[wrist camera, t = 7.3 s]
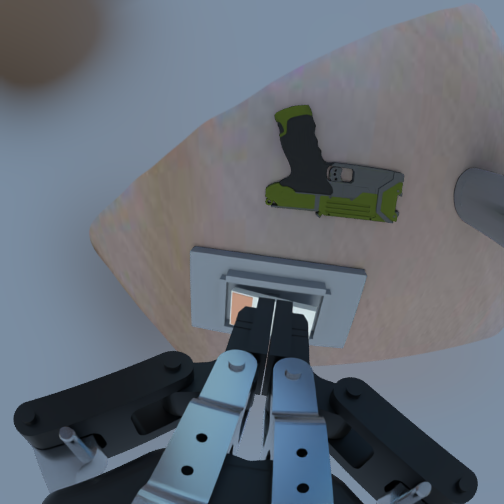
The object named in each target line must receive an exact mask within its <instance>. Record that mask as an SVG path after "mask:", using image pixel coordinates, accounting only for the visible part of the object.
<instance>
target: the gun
mask: <svg viewBox="0 0 504 504" xmlns="http://www.w3.org/2000/svg"><path fill="white" fill-rule="evenodd" d="M275 120H276V122H278V126H279V129H280V134H279V136H280V140H281V145H282V148H283V150H284V153H285V155H286V157H287V159H288V161H289V164H290V166H291V175H290V176H289V177H287V178H285V179H283V180H281V181H280V182H275V183H273V184H271V185H268V187H267V188H266V195H265V197H267V199H266V201H265V202H266V204H267V205H271V207H277V208H288V209H298V210H308V211H318V210H319V211H318V212H316V215H317V216H318V217H319V218H320V217H321V215H322V214H323V215H326V216H336V217H345V218H354V219H363V220H372V221H380V222H387V223H393V221H395V222H396V221H397V217H398V215H399V212H398V211H395V207H396V202H397V195H399V196H401V197H402V186H403V183H402V182H404V174H402V173H399V172H394V171H390V170H384V169H378V168H372V167H365V166H359V165H351V164H343V163H335V162H334V163H327V162H325V161H324V160H323V158H322V156H321V150H320V149H319V147H318V144H317V143H318V141H317V139H316V137H315V134H314V132H315V127H316V125H315V123H314V120H313V117H312V111H311V109H310V107H309V105H298V106H292V107H289V108H286V109H283V110H281V111H279V112H277V113H276V114H275ZM329 166H336V167H332V168H331V169H330V173H329V177H330V179H331V180H328V179H327V168H328V167H329ZM340 167H343V168H350V169H352V170H353V177H352V181H350V182H343V181H342V179H341V176H340V175H341V172H342V168H340ZM334 169H336V171H334ZM334 173H336V175H334ZM335 178H337V180H335ZM268 200H270V201H271V202H270V203H269V202H268ZM273 201H274V202H275V203H276V204H273Z"/></svg>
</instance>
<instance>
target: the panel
mask: <svg viewBox="0 0 504 504" xmlns="http://www.w3.org/2000/svg"><path fill="white" fill-rule="evenodd" d="M366 278H367V275H366V273H365V271H364V270H363V269H356V268H348V267H341V266H334V265H326V264H319V263H312V262H305V261H297V260H290V259H283V258H276V257H269V256H261V255H254V254H247V253H240V252H233V251H226V250H218V249H211V248H204V247H197V246H194V247H193V248H192V250H191V251H190V284H191V316H192V326H194V327H199V328H204V329H209V330H214V331H219V332H224V333H230V334H231V333H232V330H233V328H234V325H231V324H230V308H231V291H232V289H233V288H234V287H237V288H241V289H245V290H249V291H253V292H257V293H261V294H265V295H269V296H273V297H277V298H281V299H285V300H289V301H293V302H297V303H302V304H306V305H310V306H315V307H317V309H316V313H315V317H314V321H313V325H312V329H311V332H310V336H309V345H314V346H324V347H335V348H343V347H344V344H345V341H346V339H347V336H348V333H349V330H350V327H351V325H352V322H353V319H354V316H355V313H356V310H357V307H358V304H359V301H360V297H361V294H362V291H363V288H364V284H365V281H366ZM270 337H271V336H270ZM269 340H270V339H269Z"/></svg>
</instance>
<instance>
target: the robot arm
mask: <svg viewBox="0 0 504 504" xmlns="http://www.w3.org/2000/svg"><path fill="white" fill-rule="evenodd" d="M454 203H455V208H456V211H457V214H458V215H459V217H460V218H461V219H462V220H463V221H464V222H466V223H467V224H469V225H470V226H472V227H474V228H475V229H477V230H478V231H480V232H481V233H483V234H484V235H486V236H488V237H489V238H491V239H492V240H494V241H495V242H497V243H498V244H499V245H501V246H502V247H504V175H501V174H498V173H494V172H491V171H487V170H483V169H479V168H470V169H468V170H466V171H465V172H464V173H463V174H462V175H461V176H460V178H459V179H458V182H457V184H456V187H455V193H454ZM274 305H275V299H270V298H264V297H259V299H258V303H257V307H256V308H255V307H248V306H245V307H244V308H243V309H241V310H240V311H239V312H238V315H237V318H236V321H235V324H234V328H233V330H232V333H231V336H230V339H229V342H228V345H227V348H226V351H225V352H224V353H222V354H221V355H220V356H219V357H218V358H217V360H214V361H211V362H202V363H193V361H192V359H191V358H190V357H189V356H188V355H186V354H184V353H182V352H178V351H169V352H165V353H162V354H160V355H157V356H155V357H152V358H150V359H147V360H145V361H142V362H140V363H137V364H135V365H133V366H130V367H127V368H125V369H122V370H119V371H117V372H114V373H111V374H109V375H106V376H104V377H101V378H98V379H95V380H92V381H89V382H87V383H84V384H81V385H78V386H75V387H72V388H69V389H66V390H63V391H61V392H58V393H55V394H51V395H48V396H45V397H42V398H38V399H35V400H32V401H28V402H25V403H23V404H21V405H20V406H19V407H18V408H17V410H16V411H15V414H14V425H15V427H16V429H17V430H18V431H19V432H20V434H21V435H22V436H23V437H24V438H25V439H26V440H27V441H28V443H29V444H30V445H31V446H32V447H33V449H34V452H35V456H36V459H37V461H38V464H39V467H40V470H41V472H42V475H43V478H44V480H45V482H46V485H47V487H48V490H49V492H50V494H49V495H48V496H47V497H46V498H45V500H44V501H43V503H42V504H363V503H362V501H360V499H359V498H358V497H357V496H356V495H355V494H354V493H353V492H352V491H351V490H350V489H349V488H348V487H347V486H346V484H345V483H344V482H343V481H341V480H340V479H339V478H337V477H336V476H334V475H333V474H331V467H330V456H329V454H330V455H331V456H332V457H333V458H334V459H335V460H336V461H337V462H338V463H339V464H340V465H341V466H342V467H343V468H344V469H345V470H346V471H347V472H348V473H349V474H350V475H351V476H352V477H353V478H354V479H355V480H356V481H357V482H358V483H359V484H360V485H361V486H362V487H363V488H364V489H365V490H366V491H367V492H368V493H369V494H370V495H371V496H372V497H373V498H374V499H375V500H377V502H376V504H465V503H466V502H468V501H469V500H470V499H472V498H473V496H474V495H475V493H476V490H477V486H478V482H477V478H476V476H475V474H474V472H472V471H471V470H470V469H469V468H467V467H466V466H465V465H464V464H462V463H461V462H460V461H459V460H457V459H456V458H455V457H454V456H452V455H451V454H450V453H448V452H447V451H446V450H445V449H444V448H443V447H441V446H440V445H439V444H438V443H436V442H435V441H434V440H433V439H432V438H430V437H429V436H428V435H426V434H425V433H424V432H423V431H422V430H421V429H419V428H418V427H417V426H416V425H415V424H413V423H412V422H411V421H410V420H409V419H407V418H406V417H405V416H404V415H403V414H402V413H400V412H399V411H398V410H397V409H396V408H394V407H393V406H392V405H391V404H390V403H389V402H387V401H386V400H385V399H384V398H383V397H381V396H380V395H379V394H378V393H377V392H376V391H374V390H373V389H372V388H371V387H370V386H369V385H368V384H366V383H365V382H364V381H362V380H360V379H357V378H352V377H351V378H350V377H348V378H343V379H341V380H339V381H338V382H337V383H333V382H330V381H327V380H325V379H322V378H320V377H319V376H317V375H316V374H315V373H314V372H313V370H312V368H311V366H310V363H309V332H308V321H307V319H306V318H305V316H304V315H303V314H298V313H293V301H285V300H278V299H277V301H276V307H275V313H274V319H273V312H274ZM272 319H273V325H272ZM271 326H272V331H271ZM270 333H271V337H270ZM269 339H270V344H269ZM268 346H269V351H268ZM267 353H268V357H267ZM266 358H267V364H266ZM265 364H266V370H265V377H264V383H263V389H262V395H265V396H267V398H266V404H265V409H264V417H263V434H262V449H261V456H260V460H259V461H248V460H245V459H242V458H240V457H237V451H238V447H239V444H240V441H241V438H242V435H243V432H244V428H245V425H246V422H247V419H248V415H249V412H250V408H251V407H252V404H253V401H254V396H255V394H258V395H260V391H261V385H262V380H263V375H264V369H265ZM175 428H176V430H175V432H174V434H173V435H172V437H171V439H170V441H169V443H168V445H167V447H166V448H162V449H158V450H155V451H152V452H149V453H147V454H145V455H143V456H141V457H139V458H137V459H135V460H132V461H130V462H128V463H126V464H124V465H122V466H120V467H117V468H115V469H113V470H110V471H108V472H106V473H103V474H101V473H102V472H103V471H104V470H105V468H106V467H107V462H108V461H107V458H110V457H112V456H115V455H117V454H120V453H122V452H125V451H127V450H130V449H132V448H134V447H136V446H138V445H141V444H143V443H146V442H148V441H150V440H152V439H154V438H156V437H158V436H160V435H162V434H164V433H167V432H169V431H170V430H173V429H175ZM99 474H101V475H99ZM97 475H98V476H97ZM95 476H96V477H95Z"/></svg>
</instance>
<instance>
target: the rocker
mask: <svg viewBox="0 0 504 504" xmlns="http://www.w3.org/2000/svg"><path fill="white" fill-rule="evenodd" d="M259 297H264V298H270V299H275V305H274V312H273V319H274V313H275V307H276V301H277V299H278V300H285V299H281V298H277V297H273V296H269V295H265V294H261V293H257V292H253V291H249V290H245V289H241V288H237V287H234V288H233V289H232V291H231V308H230V324H231V325H234V324H235V321H236V318H237V315H238V312H239V311H240V310H241V309H243V308H244V307H245V306H248V307H255V308H256V307H257V303H258V299H259ZM285 301H289V300H285ZM316 309H317V307H315V306H310V305H306V304H302V303H297V302H293V313H298V314H303V315H304V316H305V318H306V319H307V321H308V332H309V336H310V332H311V329H312V325H313V321H314V317H315V313H316ZM273 319H272V325H273ZM271 331H272V326H271ZM270 336H271V333H270Z"/></svg>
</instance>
